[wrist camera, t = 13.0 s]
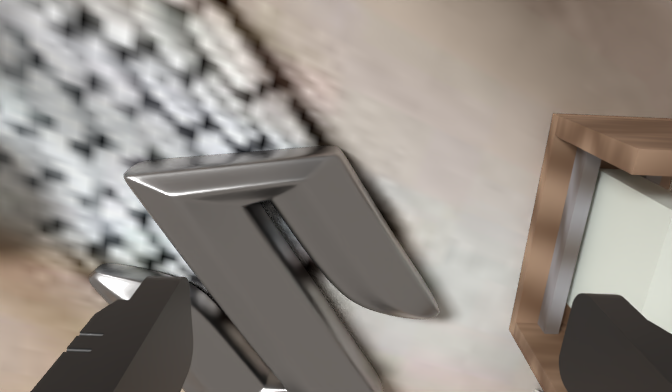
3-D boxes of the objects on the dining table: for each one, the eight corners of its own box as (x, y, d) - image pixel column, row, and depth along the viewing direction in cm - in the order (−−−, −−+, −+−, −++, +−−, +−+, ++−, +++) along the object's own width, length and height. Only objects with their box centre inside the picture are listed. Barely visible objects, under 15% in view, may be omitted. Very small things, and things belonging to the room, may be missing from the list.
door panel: (596, 168, 37) (673, 211, 29) (631, 169, 37) (719, 213, 29) (563, 299, 41) (622, 371, 33) (595, 300, 41) (662, 372, 33)
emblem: (39, 376, 39) (153, 69, 31) (73, 336, 44) (178, 62, 36) (338, 488, 43) (510, 247, 35) (338, 440, 49) (488, 218, 40)
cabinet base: (553, 113, 36) (638, 149, 26) (680, 119, 37) (815, 156, 26) (509, 329, 43) (563, 425, 33) (616, 333, 44) (703, 430, 33)
